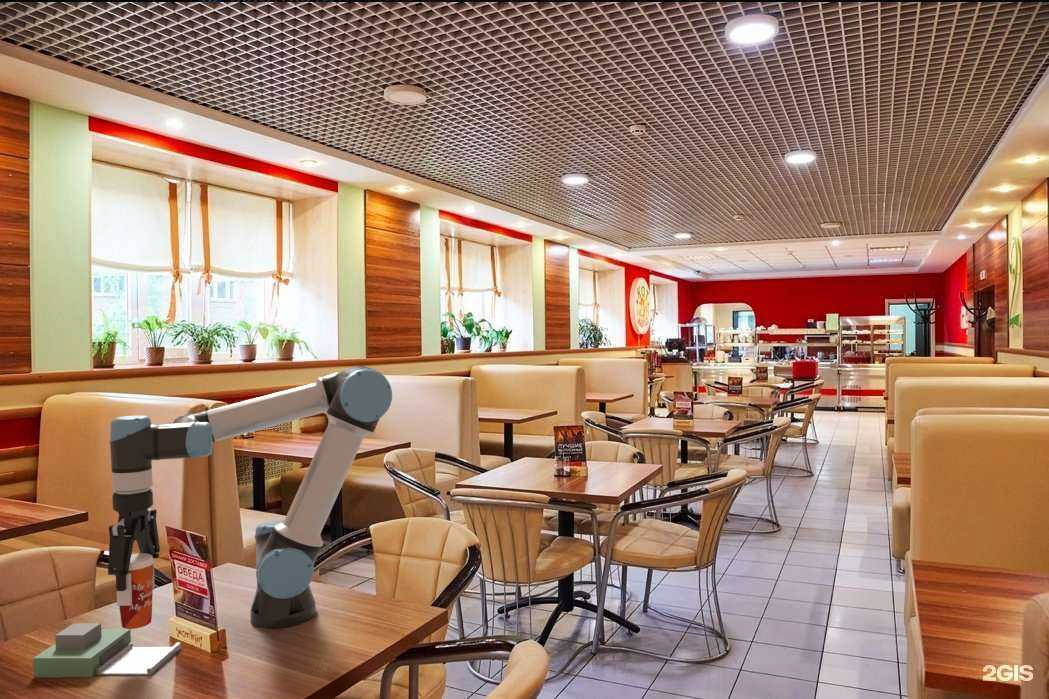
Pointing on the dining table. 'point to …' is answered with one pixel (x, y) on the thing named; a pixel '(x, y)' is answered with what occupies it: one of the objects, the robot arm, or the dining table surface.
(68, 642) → the stepped green box
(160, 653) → the plate
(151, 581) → the paper cup
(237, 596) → the dining table surface
